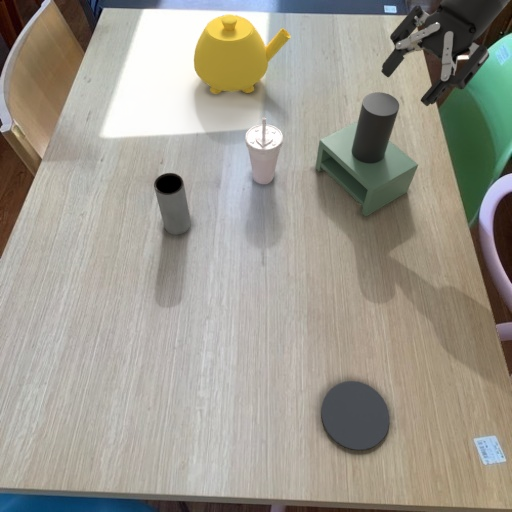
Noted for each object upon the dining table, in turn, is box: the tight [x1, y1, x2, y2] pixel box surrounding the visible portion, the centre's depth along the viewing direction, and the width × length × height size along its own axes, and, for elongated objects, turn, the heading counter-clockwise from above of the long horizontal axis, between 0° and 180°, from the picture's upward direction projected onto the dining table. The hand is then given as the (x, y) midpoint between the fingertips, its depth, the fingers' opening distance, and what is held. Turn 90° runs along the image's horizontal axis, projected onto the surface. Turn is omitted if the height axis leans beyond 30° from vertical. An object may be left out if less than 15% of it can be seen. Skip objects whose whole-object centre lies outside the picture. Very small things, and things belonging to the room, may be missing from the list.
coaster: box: [320, 380, 390, 451], centre depth 63 cm, size 9×9×1 cm
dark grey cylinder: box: [352, 91, 400, 164], centre depth 77 cm, size 6×6×10 cm
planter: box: [153, 172, 192, 236], centre depth 77 cm, size 4×4×10 cm
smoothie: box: [244, 116, 284, 185], centre depth 82 cm, size 6×6×14 cm
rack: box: [315, 120, 419, 217], centre depth 84 cm, size 14×10×7 cm
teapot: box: [193, 14, 292, 95], centre depth 98 cm, size 20×16×14 cm
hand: (403, 88), depth 74 cm, fingers open, 8 cm apart
